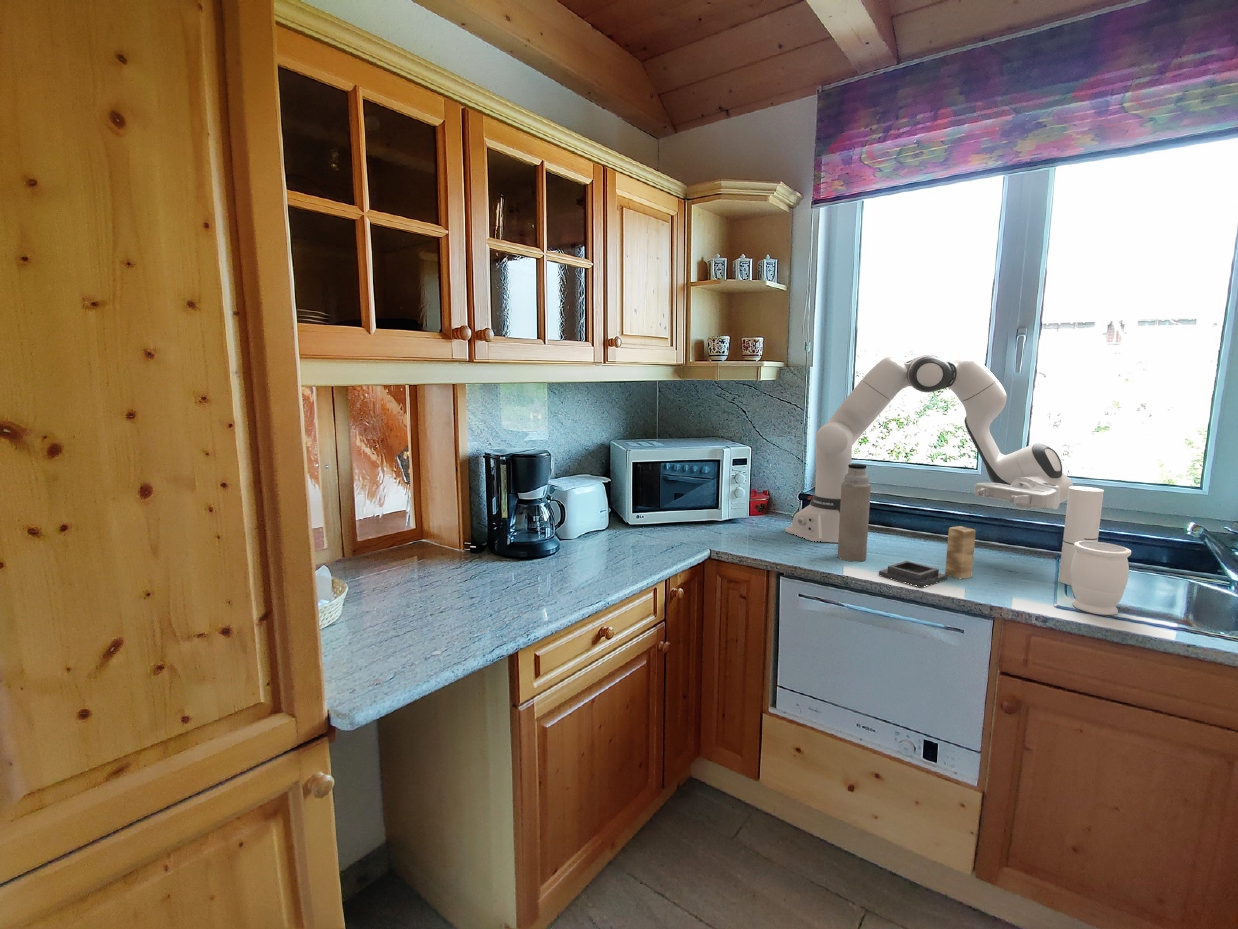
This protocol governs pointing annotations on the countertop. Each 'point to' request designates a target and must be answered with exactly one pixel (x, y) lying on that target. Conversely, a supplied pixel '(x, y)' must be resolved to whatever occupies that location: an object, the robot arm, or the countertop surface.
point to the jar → (1099, 576)
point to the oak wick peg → (960, 552)
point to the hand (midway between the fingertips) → (995, 496)
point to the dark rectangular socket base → (913, 573)
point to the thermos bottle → (854, 514)
